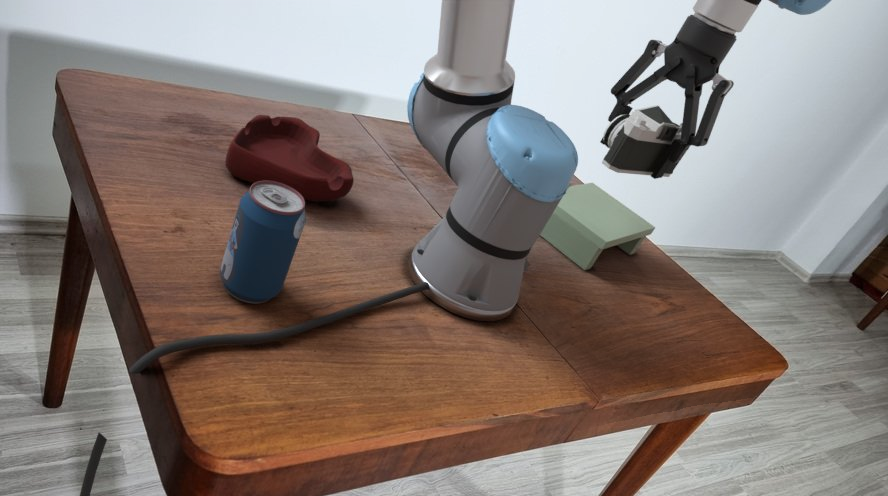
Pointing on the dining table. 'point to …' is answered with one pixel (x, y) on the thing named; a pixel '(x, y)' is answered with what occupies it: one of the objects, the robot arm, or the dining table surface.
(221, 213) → the dining table surface
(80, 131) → the dining table surface
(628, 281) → the dining table surface
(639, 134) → the camera
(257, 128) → the ashtray
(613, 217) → the shelf
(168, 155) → the dining table surface
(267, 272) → the soda can
